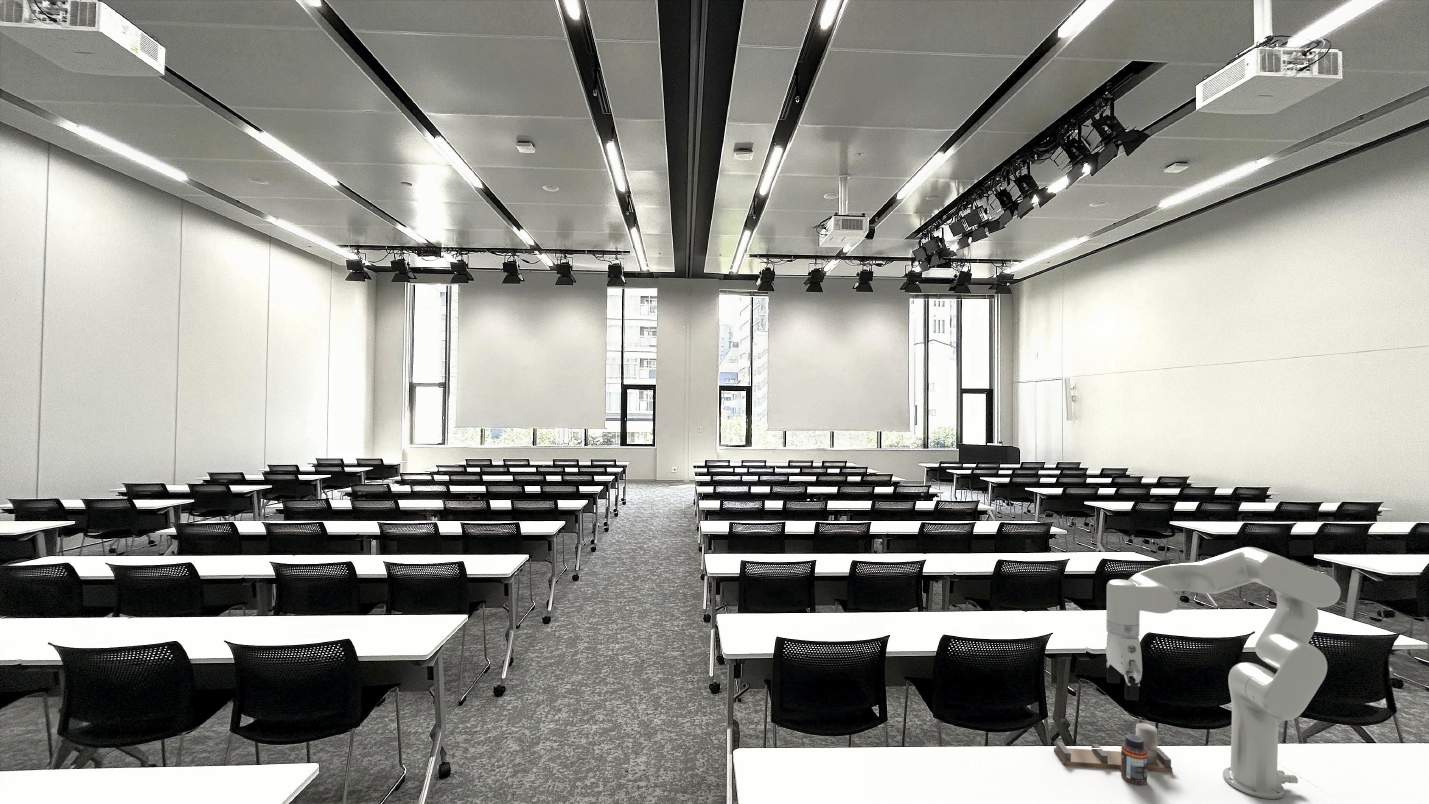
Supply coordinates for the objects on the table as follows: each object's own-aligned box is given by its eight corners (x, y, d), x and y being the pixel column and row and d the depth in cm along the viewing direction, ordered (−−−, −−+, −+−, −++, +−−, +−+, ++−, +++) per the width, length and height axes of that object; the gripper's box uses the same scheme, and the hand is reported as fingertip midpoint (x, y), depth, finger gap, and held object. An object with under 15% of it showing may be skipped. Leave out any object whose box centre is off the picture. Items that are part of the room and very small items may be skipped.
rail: (1158, 758, 188) (1158, 722, 188) (1172, 772, 181) (1173, 735, 181) (1053, 751, 191) (1054, 716, 191) (1063, 765, 184) (1064, 729, 184)
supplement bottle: (1120, 770, 182) (1121, 729, 182) (1146, 777, 179) (1147, 735, 178) (1120, 781, 177) (1121, 739, 176) (1147, 788, 174) (1148, 745, 173)
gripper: (1155, 640, 168) (1154, 707, 169) (1121, 616, 185) (1121, 677, 186) (1123, 639, 169) (1123, 706, 170) (1093, 615, 186) (1092, 676, 187)
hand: (1122, 691), depth 178 cm, fingers open, 9 cm apart
